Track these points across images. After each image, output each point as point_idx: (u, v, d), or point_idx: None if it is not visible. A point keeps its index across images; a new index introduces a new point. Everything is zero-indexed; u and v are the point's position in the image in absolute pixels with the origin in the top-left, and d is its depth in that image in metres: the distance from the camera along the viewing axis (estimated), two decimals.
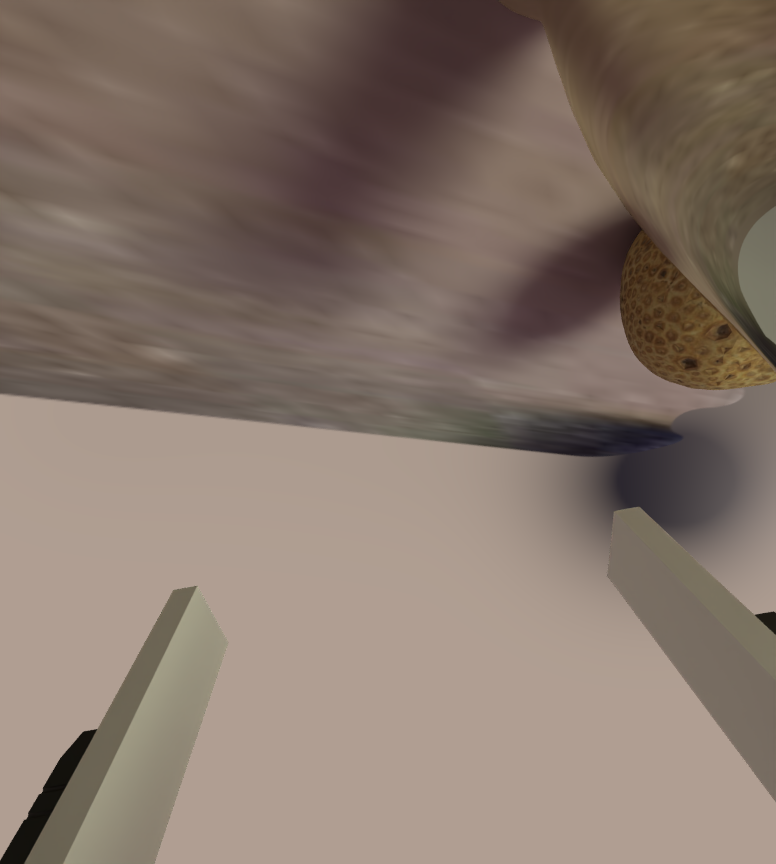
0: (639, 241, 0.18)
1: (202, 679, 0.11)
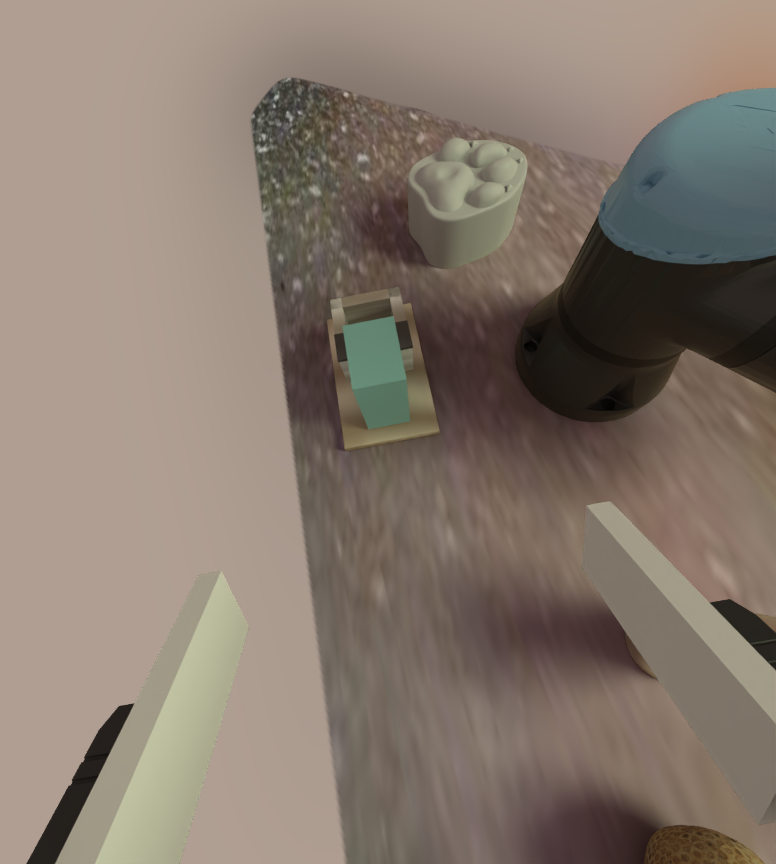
0: (661, 829, 0.28)
1: (227, 660, 0.12)
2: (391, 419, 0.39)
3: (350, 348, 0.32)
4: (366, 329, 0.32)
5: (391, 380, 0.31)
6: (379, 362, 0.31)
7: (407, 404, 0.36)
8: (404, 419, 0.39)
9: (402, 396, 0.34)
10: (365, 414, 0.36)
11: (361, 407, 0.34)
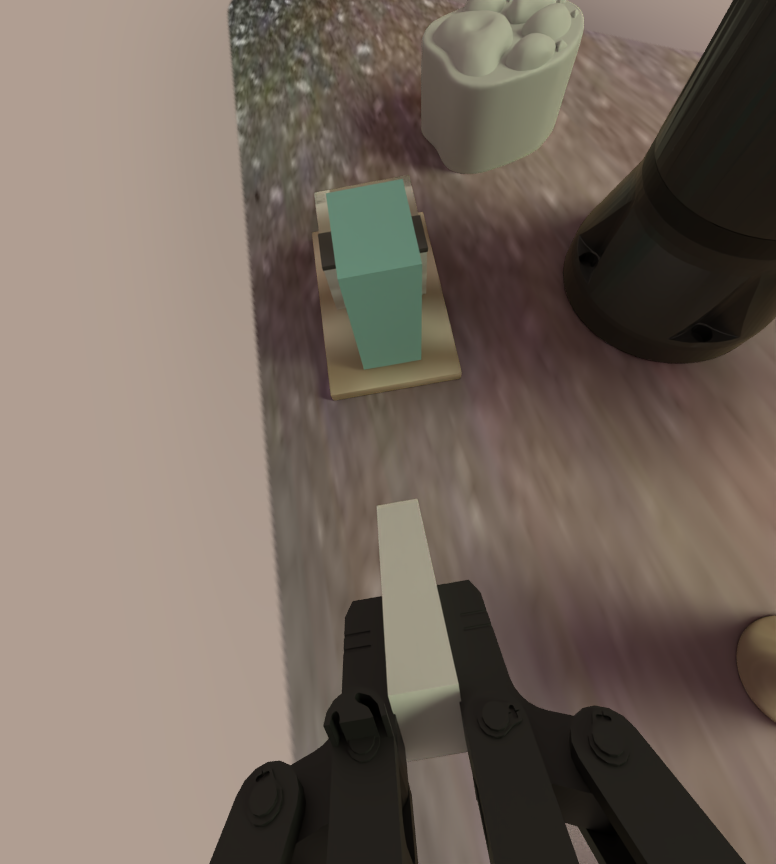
0: None
1: None
2: (395, 353, 0.28)
3: (337, 223, 0.21)
4: (361, 197, 0.21)
5: (398, 265, 0.20)
6: (381, 240, 0.20)
7: (419, 323, 0.25)
8: (413, 355, 0.28)
9: (414, 304, 0.23)
10: (360, 339, 0.25)
11: (353, 322, 0.24)
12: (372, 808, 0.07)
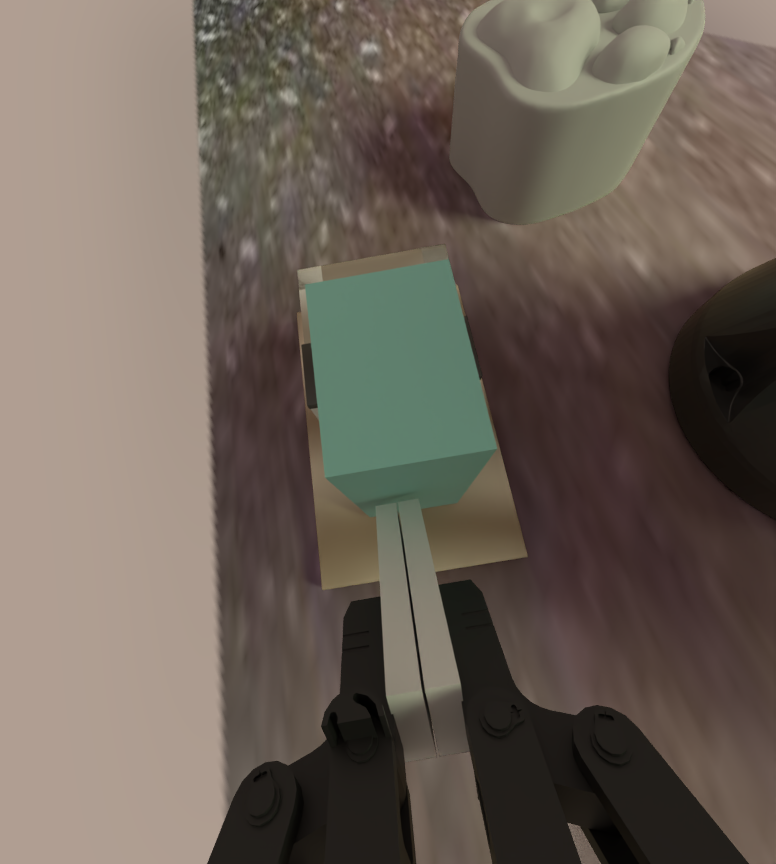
0: None
1: None
2: (420, 504, 0.18)
3: (326, 348, 0.11)
4: (372, 294, 0.11)
5: (448, 450, 0.10)
6: (411, 390, 0.10)
7: (466, 486, 0.15)
8: (447, 502, 0.18)
9: (464, 476, 0.13)
10: (365, 505, 0.15)
11: (354, 499, 0.13)
12: (370, 808, 0.07)
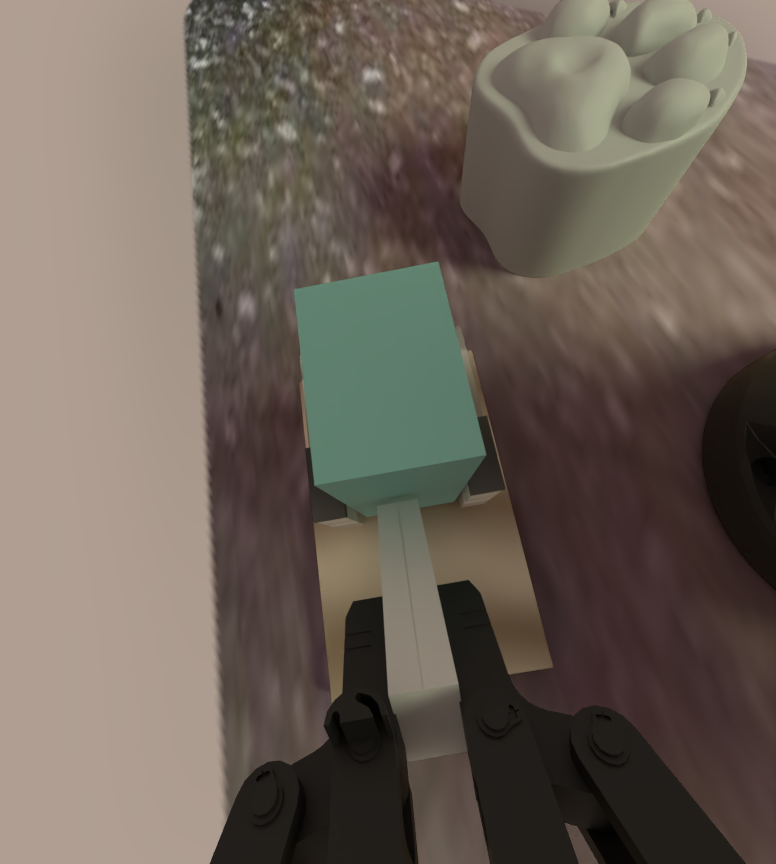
0: None
1: None
2: None
3: (315, 354, 0.11)
4: (361, 299, 0.11)
5: (437, 457, 0.10)
6: (400, 396, 0.10)
7: (461, 487, 0.15)
8: (443, 502, 0.18)
9: (457, 480, 0.13)
10: (360, 507, 0.15)
11: (348, 502, 0.14)
12: (372, 808, 0.07)
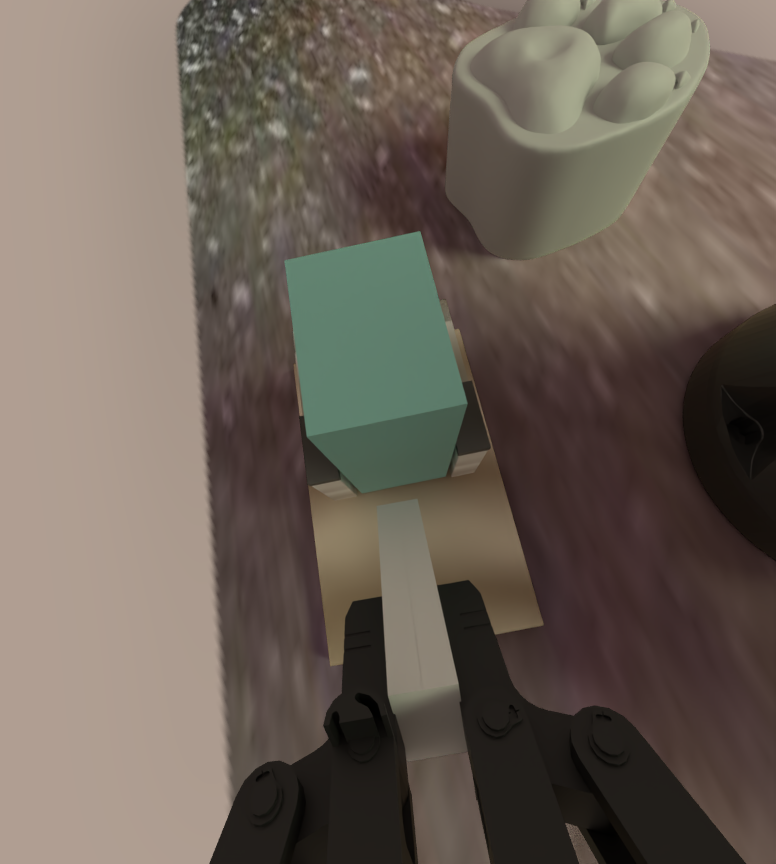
0: None
1: None
2: (409, 477, 0.18)
3: (305, 318, 0.12)
4: (348, 267, 0.12)
5: (421, 407, 0.10)
6: (386, 354, 0.11)
7: (449, 453, 0.15)
8: (435, 475, 0.19)
9: (444, 440, 0.13)
10: (354, 476, 0.16)
11: (341, 467, 0.14)
12: (372, 808, 0.07)
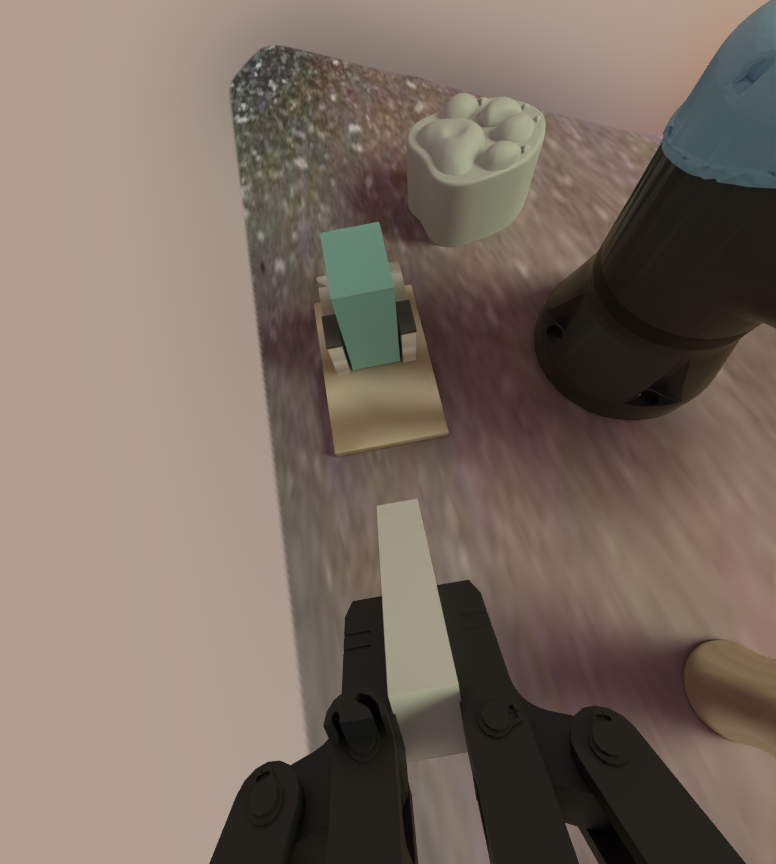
0: None
1: None
2: (378, 355, 0.34)
3: (329, 256, 0.27)
4: (347, 236, 0.28)
5: (376, 288, 0.26)
6: (363, 269, 0.27)
7: (396, 331, 0.31)
8: (393, 357, 0.35)
9: (390, 316, 0.29)
10: (349, 345, 0.32)
11: (343, 332, 0.30)
12: (372, 808, 0.07)
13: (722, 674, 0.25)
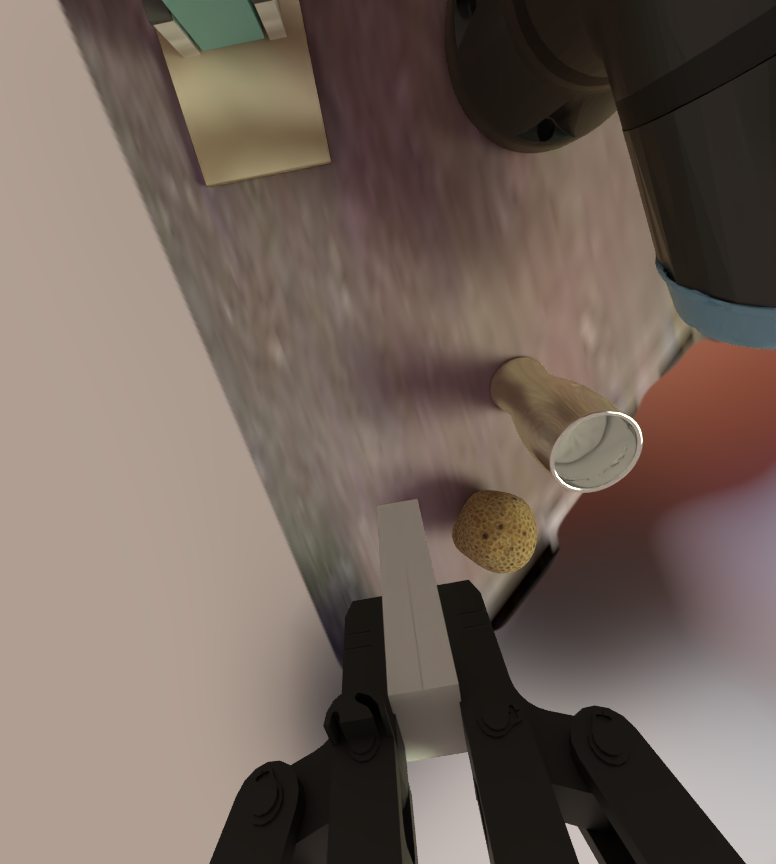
0: (478, 492, 0.43)
1: None
2: (231, 32, 0.25)
3: None
4: None
5: None
6: None
7: None
8: (253, 34, 0.26)
9: None
10: (182, 18, 0.23)
11: (165, 0, 0.21)
12: (372, 808, 0.07)
13: (510, 380, 0.37)
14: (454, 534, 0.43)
